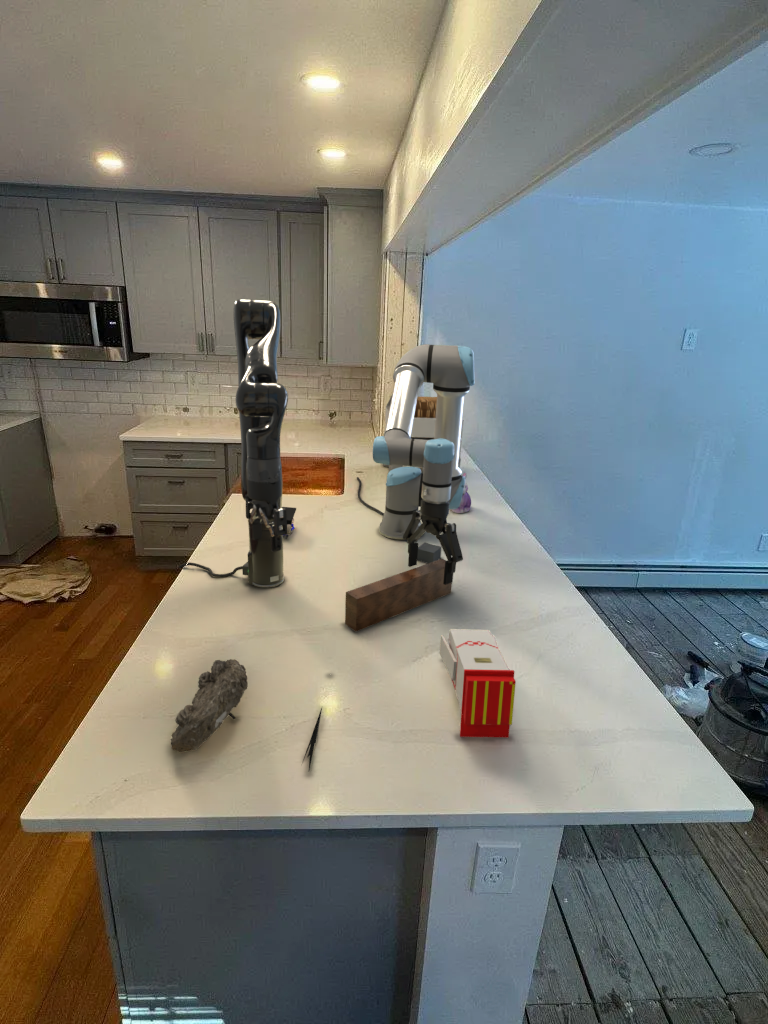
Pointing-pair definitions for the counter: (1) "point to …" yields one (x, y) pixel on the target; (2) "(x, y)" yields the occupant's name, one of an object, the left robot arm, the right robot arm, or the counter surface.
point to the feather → (313, 740)
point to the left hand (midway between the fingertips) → (266, 544)
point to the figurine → (464, 500)
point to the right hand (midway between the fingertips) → (429, 574)
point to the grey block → (429, 553)
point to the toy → (479, 682)
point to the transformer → (423, 422)
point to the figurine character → (290, 519)
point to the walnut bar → (395, 595)
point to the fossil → (210, 704)
